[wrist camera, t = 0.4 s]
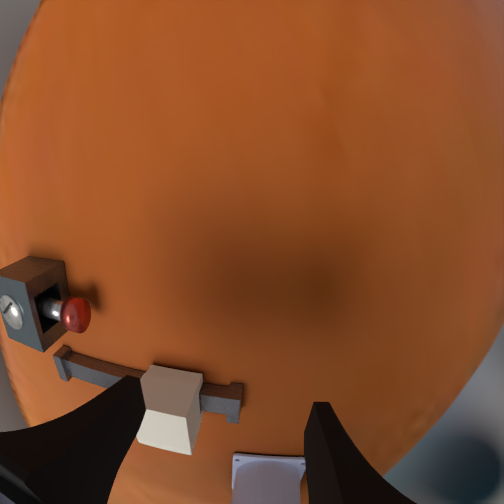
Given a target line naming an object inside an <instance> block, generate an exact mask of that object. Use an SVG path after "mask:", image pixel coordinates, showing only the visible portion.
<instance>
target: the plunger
mask: <svg viewBox="0 0 504 504" xmlns="http://www.w3.org/2000/svg"><path fill="white" fill-rule="evenodd" d="M38 309H39V313H40V314H41V315H42V316H45V317H48V318H51V319H55V320H58V321H61V324H62V326H63V327H64V328H65V329H67V330H70V331H73V332H77V333H83V332H84V331H85V330H86V329H87V328H88V326H89V323H90V319H91V309H90V305H89V303H88V302H87V300H85V299H81V298H76V297H68V298H66V299H65V300H64V301H61V300H57V299H53V298H49V297H42V298H41V300H40V301H39V305H38Z"/></svg>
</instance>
